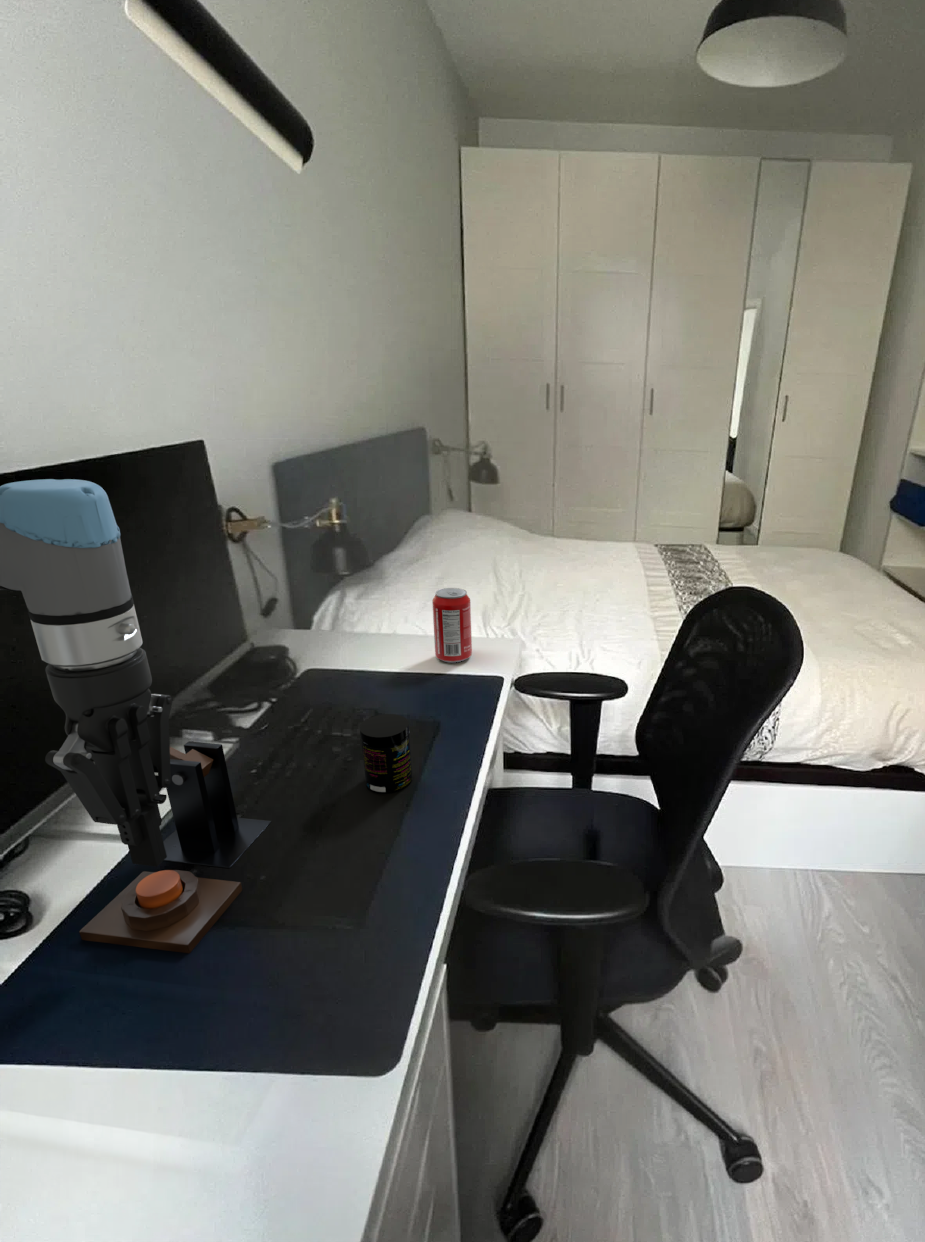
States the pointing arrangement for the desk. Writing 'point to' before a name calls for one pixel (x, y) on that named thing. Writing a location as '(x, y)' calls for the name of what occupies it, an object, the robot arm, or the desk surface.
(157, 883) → the button
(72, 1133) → the desk surface
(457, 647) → the soda can
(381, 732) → the supplement container
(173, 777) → the bracket
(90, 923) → the button block
